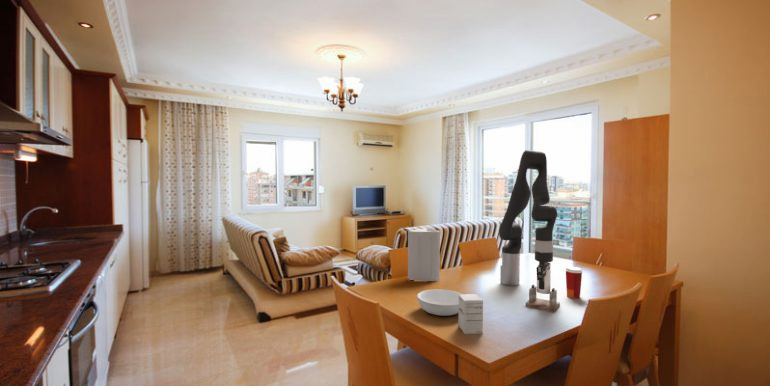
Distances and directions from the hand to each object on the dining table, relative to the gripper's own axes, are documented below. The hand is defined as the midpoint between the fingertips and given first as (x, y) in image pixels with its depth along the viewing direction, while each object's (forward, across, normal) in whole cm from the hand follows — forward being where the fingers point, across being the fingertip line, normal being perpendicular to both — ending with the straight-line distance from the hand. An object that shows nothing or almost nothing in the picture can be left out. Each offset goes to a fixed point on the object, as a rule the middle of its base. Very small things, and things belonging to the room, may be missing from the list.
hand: (543, 287), depth 164 cm
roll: (+2, 0, 0) cm, 2 cm away
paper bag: (+8, -7, -65) cm, 66 cm away
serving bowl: (+9, +35, -32) cm, 48 cm away
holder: (+8, 0, 0) cm, 8 cm away
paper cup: (+9, -23, +8) cm, 26 cm away
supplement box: (+9, +45, -14) cm, 48 cm away
